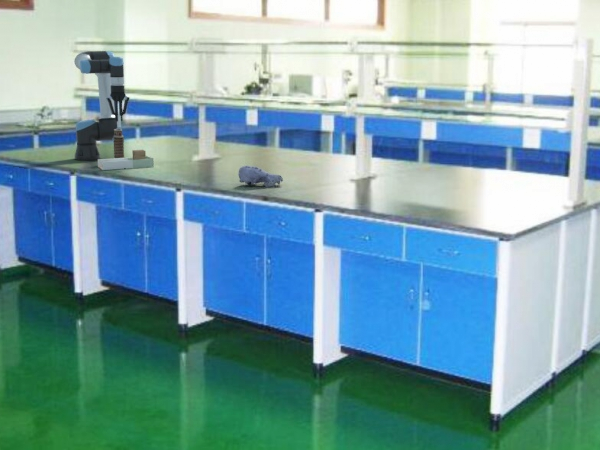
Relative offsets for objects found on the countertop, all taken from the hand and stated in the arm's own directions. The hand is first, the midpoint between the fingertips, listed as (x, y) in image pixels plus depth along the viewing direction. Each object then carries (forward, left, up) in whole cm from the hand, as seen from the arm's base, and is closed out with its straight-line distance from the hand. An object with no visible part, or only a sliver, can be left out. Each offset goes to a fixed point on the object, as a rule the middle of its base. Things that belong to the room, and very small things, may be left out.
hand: (119, 127), depth 478 cm
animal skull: (+96, +46, -23) cm, 108 cm away
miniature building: (-15, +2, -23) cm, 28 cm away
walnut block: (+3, +10, -20) cm, 22 cm away
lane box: (+3, +2, -23) cm, 23 cm away
